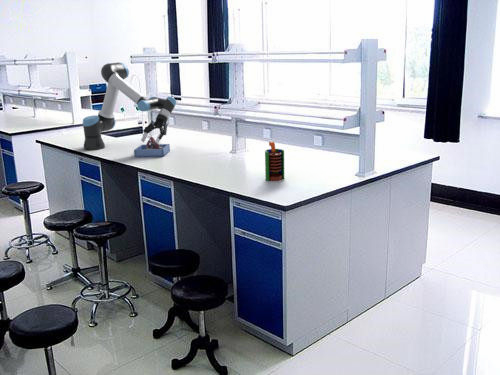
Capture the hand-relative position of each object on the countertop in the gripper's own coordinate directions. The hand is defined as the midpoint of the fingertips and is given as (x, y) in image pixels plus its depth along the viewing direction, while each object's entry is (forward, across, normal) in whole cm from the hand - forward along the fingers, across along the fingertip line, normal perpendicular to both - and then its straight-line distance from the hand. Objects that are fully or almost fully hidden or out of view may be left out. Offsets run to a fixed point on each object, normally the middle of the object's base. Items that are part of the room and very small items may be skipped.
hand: (149, 142), depth 345 cm
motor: (+17, -110, +4) cm, 111 cm away
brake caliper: (+3, 0, -8) cm, 9 cm away
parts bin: (+5, 0, -8) cm, 9 cm away
